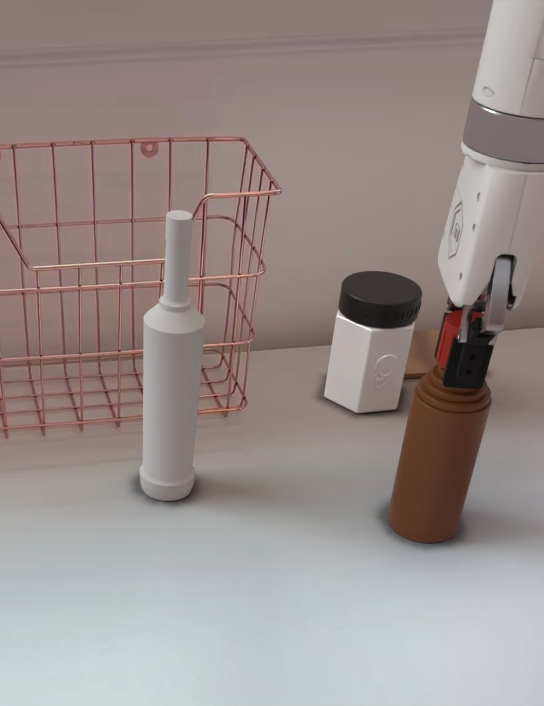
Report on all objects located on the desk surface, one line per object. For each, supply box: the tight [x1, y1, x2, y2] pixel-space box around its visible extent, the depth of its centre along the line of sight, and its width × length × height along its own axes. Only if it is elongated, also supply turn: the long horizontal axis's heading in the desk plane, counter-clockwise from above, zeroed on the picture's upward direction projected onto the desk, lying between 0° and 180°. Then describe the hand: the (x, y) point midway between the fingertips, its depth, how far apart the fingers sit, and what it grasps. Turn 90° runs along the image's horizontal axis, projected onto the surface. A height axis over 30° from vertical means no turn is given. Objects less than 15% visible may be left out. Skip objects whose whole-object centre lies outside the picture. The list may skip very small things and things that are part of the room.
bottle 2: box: [386, 364, 493, 544], centre depth 88 cm, size 6×6×19 cm
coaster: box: [403, 329, 440, 380], centre depth 118 cm, size 10×10×1 cm
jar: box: [323, 270, 423, 414], centre depth 107 cm, size 9×8×12 cm
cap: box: [436, 310, 484, 370], centre depth 82 cm, size 4×4×4 cm
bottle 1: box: [139, 209, 207, 502], centre depth 88 cm, size 5×5×25 cm
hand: (457, 371), depth 84 cm, fingers closed on cap, 3 cm apart
